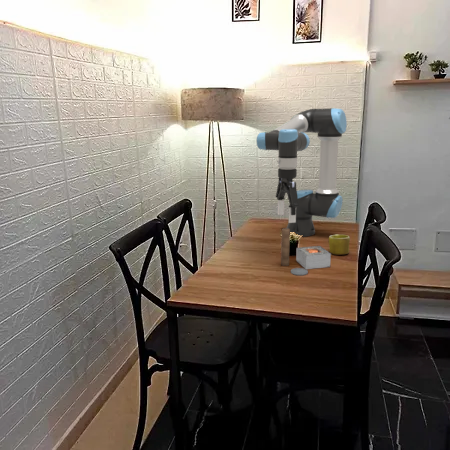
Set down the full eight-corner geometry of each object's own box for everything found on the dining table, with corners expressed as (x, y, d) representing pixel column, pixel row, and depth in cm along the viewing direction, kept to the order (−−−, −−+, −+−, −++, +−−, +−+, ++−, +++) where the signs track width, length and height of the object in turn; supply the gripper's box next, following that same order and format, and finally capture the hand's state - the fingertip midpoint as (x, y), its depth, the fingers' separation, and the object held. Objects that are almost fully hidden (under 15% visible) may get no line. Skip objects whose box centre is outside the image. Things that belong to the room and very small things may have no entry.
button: (306, 255, 190) (307, 250, 190) (315, 254, 191) (315, 249, 190) (310, 258, 186) (310, 252, 186) (319, 257, 187) (319, 252, 187)
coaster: (288, 270, 183) (288, 268, 182) (303, 268, 184) (303, 267, 184) (294, 276, 176) (294, 274, 176) (310, 274, 178) (310, 273, 177)
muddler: (279, 263, 190) (280, 228, 186) (287, 263, 191) (288, 227, 187) (282, 266, 187) (283, 230, 183) (290, 265, 188) (291, 229, 184)
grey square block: (296, 260, 194) (296, 247, 192) (319, 258, 196) (319, 245, 194) (305, 269, 183) (306, 255, 182) (330, 266, 186) (330, 253, 184)
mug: (354, 253, 196) (347, 232, 196) (331, 259, 199) (325, 238, 199) (353, 250, 208) (347, 230, 208) (332, 255, 210) (326, 235, 210)
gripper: (268, 164, 189) (268, 212, 194) (289, 172, 165) (288, 226, 171) (285, 164, 191) (284, 211, 196) (308, 171, 167) (306, 225, 173)
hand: (286, 218), depth 184 cm, fingers open, 13 cm apart
